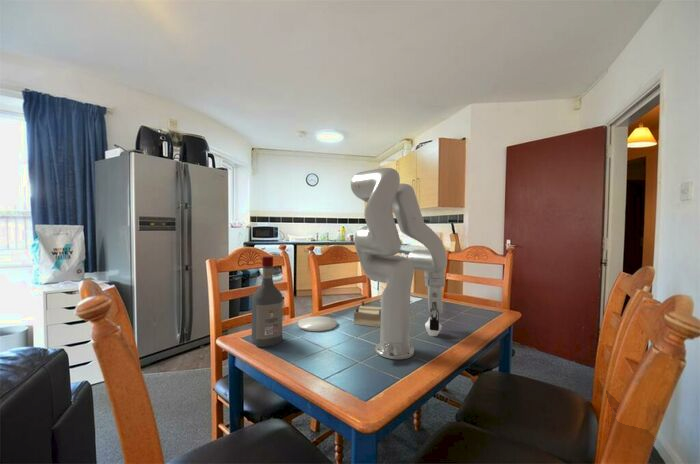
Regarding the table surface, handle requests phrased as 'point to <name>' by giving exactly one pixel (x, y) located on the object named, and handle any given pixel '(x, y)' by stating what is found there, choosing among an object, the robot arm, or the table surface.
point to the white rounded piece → (432, 332)
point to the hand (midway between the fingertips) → (434, 325)
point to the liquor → (267, 309)
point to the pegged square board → (367, 315)
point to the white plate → (317, 323)
